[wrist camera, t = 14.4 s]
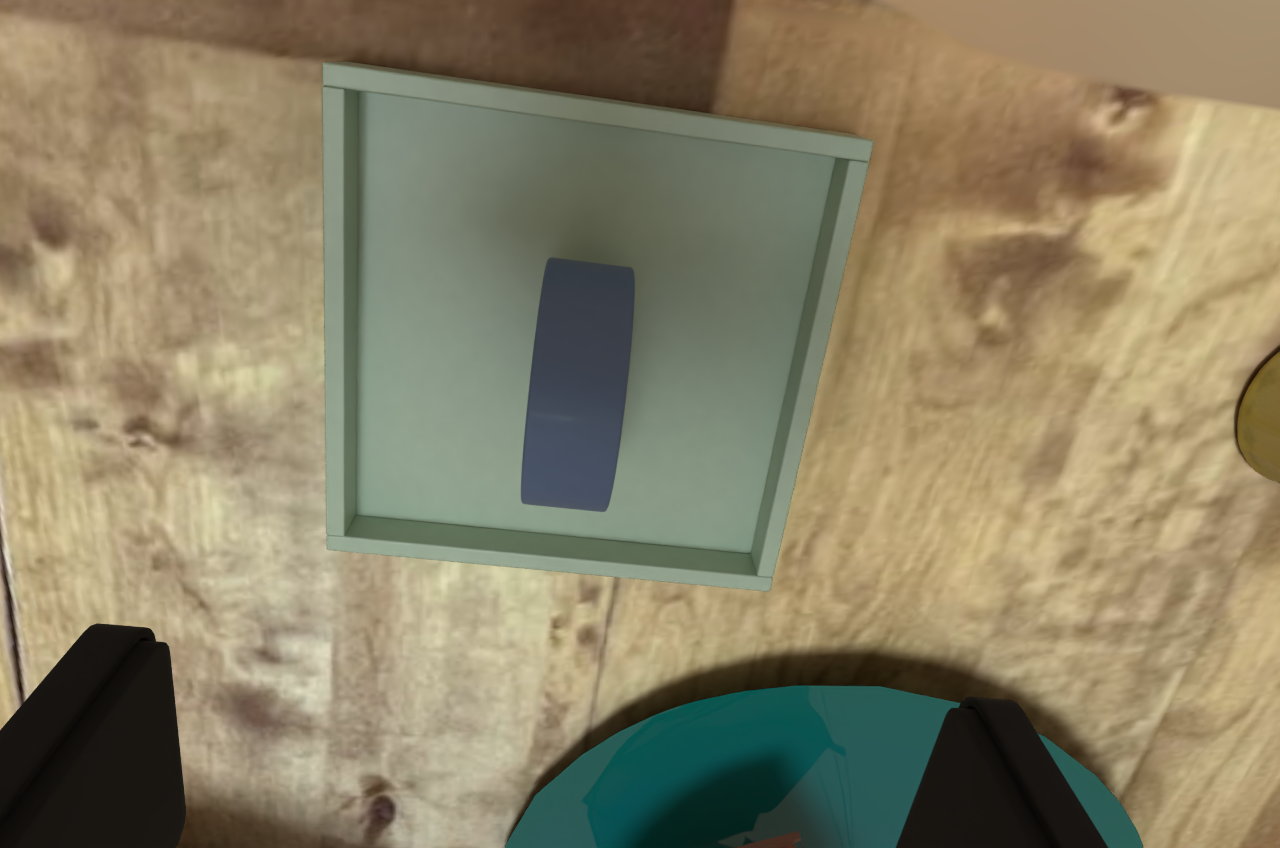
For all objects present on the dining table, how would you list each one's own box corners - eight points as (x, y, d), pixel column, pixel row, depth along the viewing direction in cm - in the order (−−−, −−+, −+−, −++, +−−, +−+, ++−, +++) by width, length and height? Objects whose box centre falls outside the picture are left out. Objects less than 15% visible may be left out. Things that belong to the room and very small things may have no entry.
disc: (553, 241, 27) (538, 280, 20) (630, 251, 27) (640, 292, 20) (532, 451, 29) (513, 548, 22) (603, 458, 29) (605, 556, 22)
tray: (342, 60, 25) (321, 61, 23) (856, 134, 26) (875, 140, 24) (342, 520, 31) (325, 550, 29) (760, 561, 32) (770, 592, 30)
